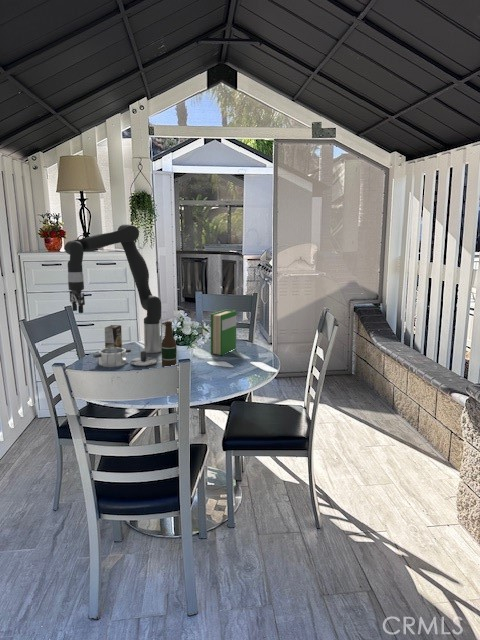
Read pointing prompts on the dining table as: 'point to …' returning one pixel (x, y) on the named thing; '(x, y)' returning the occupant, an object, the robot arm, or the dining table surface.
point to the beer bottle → (169, 347)
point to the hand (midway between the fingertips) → (77, 311)
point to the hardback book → (223, 331)
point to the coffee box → (113, 336)
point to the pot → (112, 356)
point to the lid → (143, 360)
